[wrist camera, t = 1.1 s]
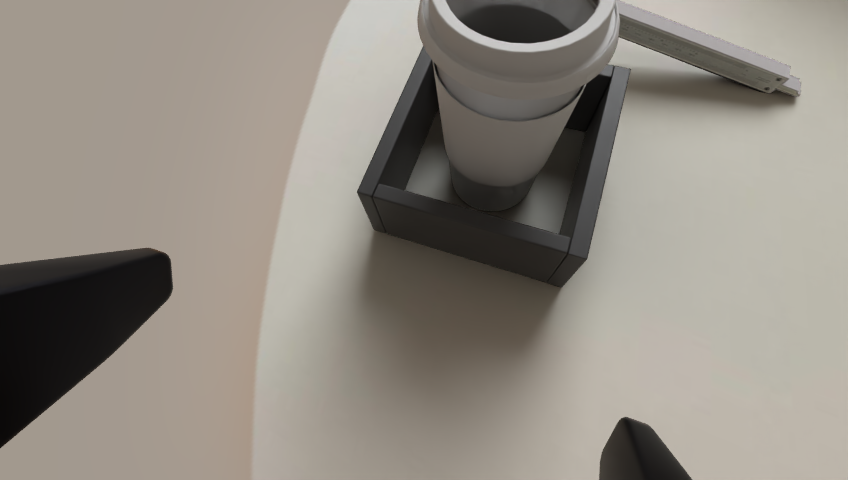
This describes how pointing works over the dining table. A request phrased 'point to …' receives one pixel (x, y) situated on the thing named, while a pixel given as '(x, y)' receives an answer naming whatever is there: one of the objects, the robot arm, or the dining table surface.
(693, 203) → the dining table surface
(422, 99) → the holder
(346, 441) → the dining table surface
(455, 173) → the cup
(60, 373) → the robot arm
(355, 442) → the dining table surface
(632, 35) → the caliper
